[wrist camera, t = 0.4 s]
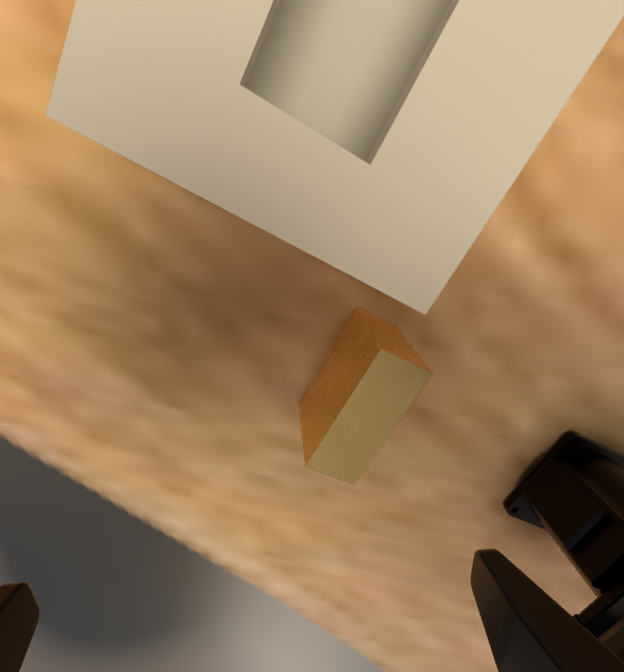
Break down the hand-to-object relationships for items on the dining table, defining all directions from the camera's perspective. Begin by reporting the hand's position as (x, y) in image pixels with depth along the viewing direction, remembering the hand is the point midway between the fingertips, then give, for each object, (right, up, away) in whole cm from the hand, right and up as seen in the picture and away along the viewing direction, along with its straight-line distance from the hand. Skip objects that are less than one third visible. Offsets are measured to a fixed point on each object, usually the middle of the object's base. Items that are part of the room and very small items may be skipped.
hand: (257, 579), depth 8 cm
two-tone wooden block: (+3, +3, +12) cm, 13 cm away
